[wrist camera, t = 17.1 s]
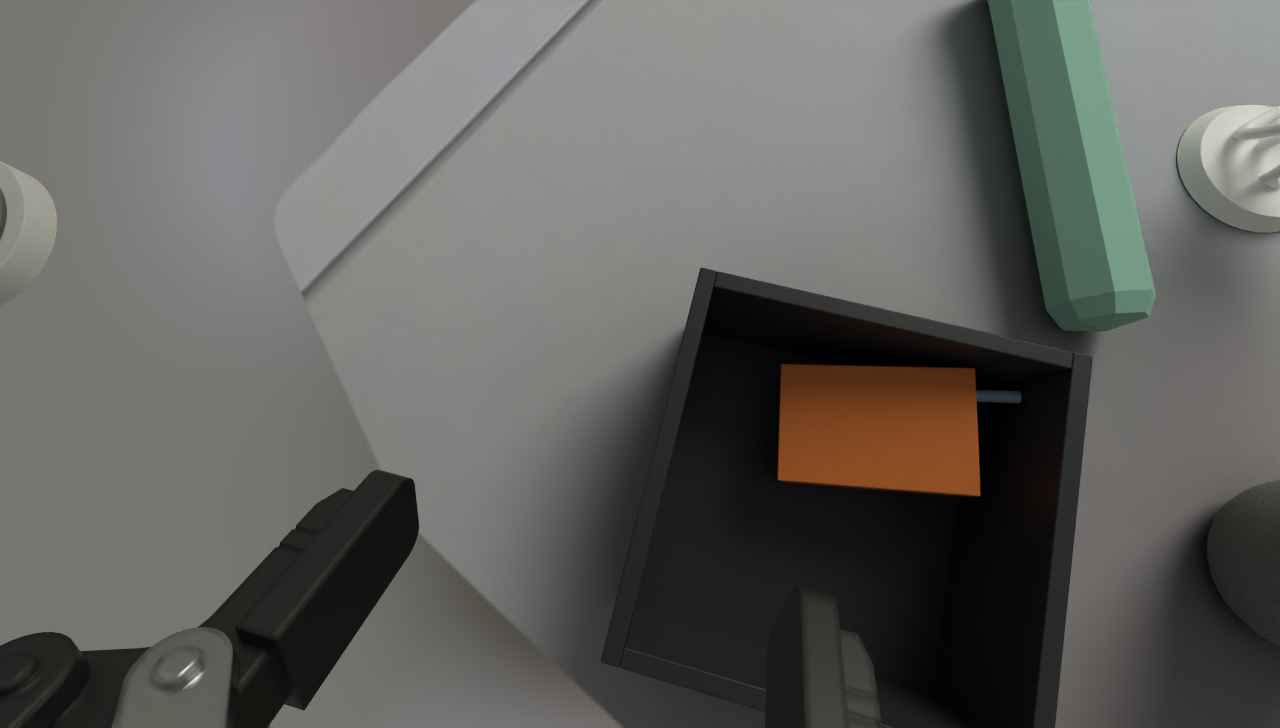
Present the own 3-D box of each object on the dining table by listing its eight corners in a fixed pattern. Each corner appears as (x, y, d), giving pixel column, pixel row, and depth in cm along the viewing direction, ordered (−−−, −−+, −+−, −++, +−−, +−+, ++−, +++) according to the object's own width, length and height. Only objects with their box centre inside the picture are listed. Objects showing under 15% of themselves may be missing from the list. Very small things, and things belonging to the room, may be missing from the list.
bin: (618, 613, 31) (600, 662, 23) (691, 320, 35) (700, 266, 26) (936, 706, 30) (1048, 797, 21) (981, 389, 33) (1093, 356, 24)
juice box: (777, 480, 28) (1042, 501, 25) (780, 363, 29) (1033, 368, 26) (780, 482, 32) (1011, 500, 28) (783, 378, 33) (1005, 384, 30)
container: (1200, 309, 27) (1098, -107, 32) (1054, 326, 30) (980, -64, 34) (1151, 334, 32) (1070, -27, 37) (1031, 347, 35) (969, 6, 40)
